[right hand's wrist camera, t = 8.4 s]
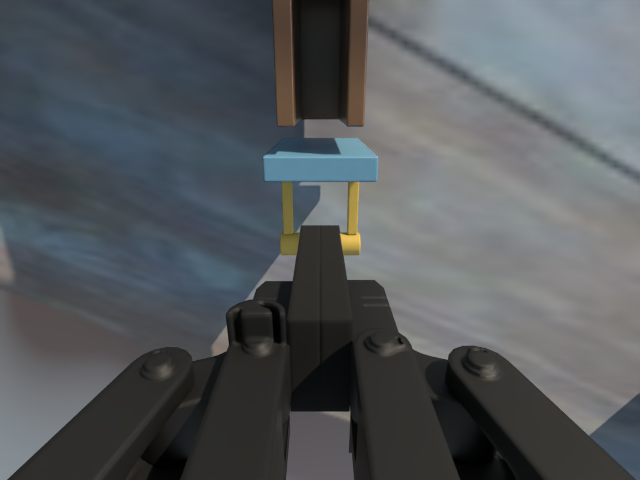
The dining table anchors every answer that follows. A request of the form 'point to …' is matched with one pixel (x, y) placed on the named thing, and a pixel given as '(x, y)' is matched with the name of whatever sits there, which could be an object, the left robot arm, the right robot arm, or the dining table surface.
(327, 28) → the drawer
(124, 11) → the dining table surface
